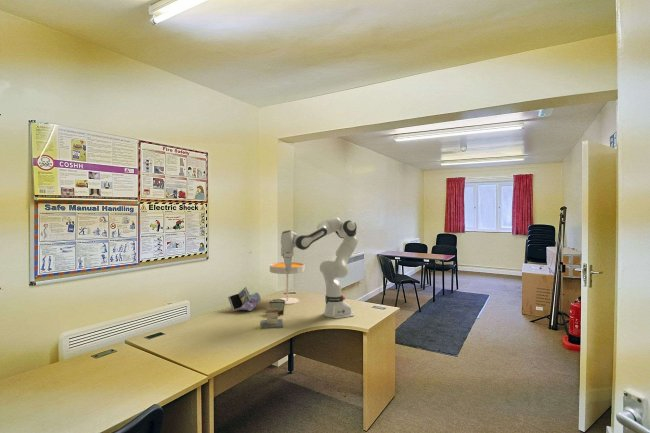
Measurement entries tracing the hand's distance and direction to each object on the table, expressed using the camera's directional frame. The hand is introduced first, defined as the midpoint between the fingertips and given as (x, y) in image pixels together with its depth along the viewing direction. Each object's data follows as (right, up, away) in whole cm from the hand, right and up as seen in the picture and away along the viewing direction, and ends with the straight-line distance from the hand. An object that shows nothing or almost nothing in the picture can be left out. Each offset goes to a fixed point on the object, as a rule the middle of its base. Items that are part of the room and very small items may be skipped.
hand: (287, 272), depth 238 cm
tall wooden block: (-9, -31, -16) cm, 36 cm away
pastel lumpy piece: (-34, -32, +18) cm, 50 cm away
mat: (-9, -32, -16) cm, 37 cm away
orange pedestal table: (-5, -32, +41) cm, 52 cm away
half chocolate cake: (-8, -32, +8) cm, 34 cm away
